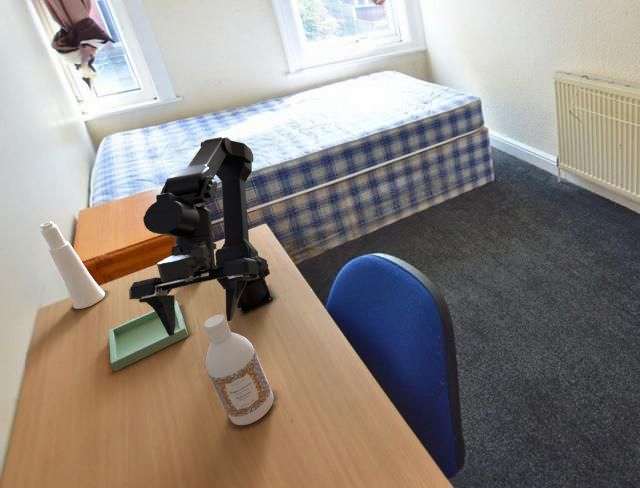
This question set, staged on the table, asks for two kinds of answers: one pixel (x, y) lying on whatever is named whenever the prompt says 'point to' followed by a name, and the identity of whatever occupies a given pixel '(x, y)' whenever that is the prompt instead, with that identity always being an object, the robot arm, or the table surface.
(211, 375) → the bath foam
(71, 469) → the table surface
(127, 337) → the toiletries tray
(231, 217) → the robot arm
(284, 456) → the table surface
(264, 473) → the table surface
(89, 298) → the cosmetic bottle
